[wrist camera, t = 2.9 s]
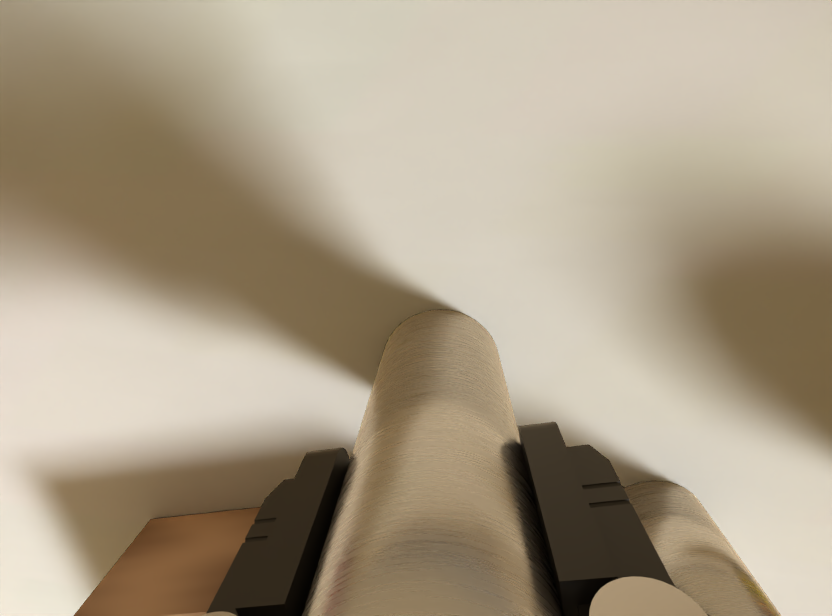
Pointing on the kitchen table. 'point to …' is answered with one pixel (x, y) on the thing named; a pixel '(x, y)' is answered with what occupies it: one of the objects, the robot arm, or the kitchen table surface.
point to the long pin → (436, 489)
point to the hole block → (172, 566)
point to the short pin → (697, 551)
